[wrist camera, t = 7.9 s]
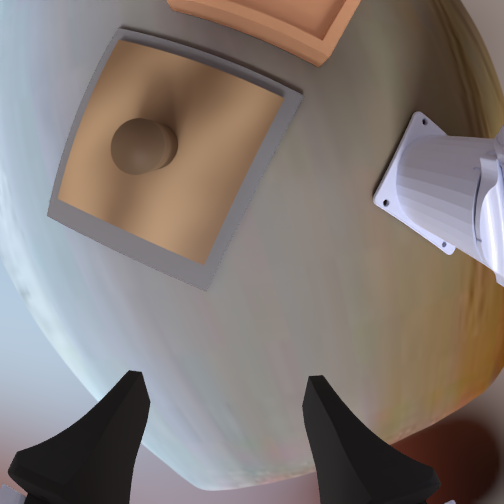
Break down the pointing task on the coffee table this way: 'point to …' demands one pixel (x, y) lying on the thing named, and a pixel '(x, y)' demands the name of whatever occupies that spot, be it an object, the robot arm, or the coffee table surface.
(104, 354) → the coffee table surface
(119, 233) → the mat
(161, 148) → the lid
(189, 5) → the dish
